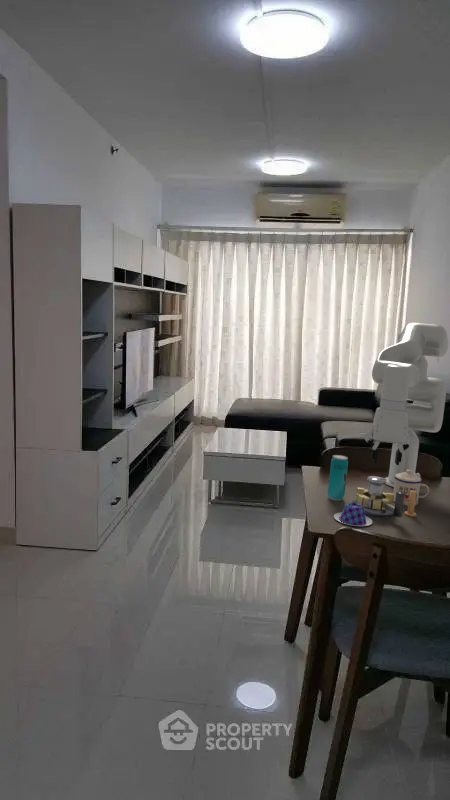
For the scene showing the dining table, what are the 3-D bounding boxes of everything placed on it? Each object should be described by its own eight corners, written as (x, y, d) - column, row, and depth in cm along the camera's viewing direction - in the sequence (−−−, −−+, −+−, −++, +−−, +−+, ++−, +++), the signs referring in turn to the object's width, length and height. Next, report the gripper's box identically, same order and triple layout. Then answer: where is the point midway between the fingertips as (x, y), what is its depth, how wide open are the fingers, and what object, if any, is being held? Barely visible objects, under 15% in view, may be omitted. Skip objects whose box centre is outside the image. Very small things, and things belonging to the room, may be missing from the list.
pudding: (343, 511, 200) (345, 496, 199) (378, 521, 194) (380, 505, 193) (327, 520, 191) (328, 504, 190) (363, 531, 184) (365, 515, 183)
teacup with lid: (392, 504, 211) (396, 471, 209) (390, 496, 220) (395, 465, 218) (428, 509, 209) (433, 476, 207) (425, 501, 218) (430, 469, 216)
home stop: (408, 512, 204) (411, 489, 203) (418, 515, 201) (421, 492, 200) (402, 513, 202) (405, 490, 200) (411, 517, 199) (414, 493, 198)
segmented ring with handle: (348, 498, 206) (351, 476, 204) (377, 496, 210) (379, 475, 209) (385, 518, 188) (388, 495, 187) (415, 516, 193) (418, 493, 192)
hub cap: (369, 500, 213) (373, 470, 211) (403, 513, 202) (407, 482, 200) (342, 506, 204) (346, 475, 202) (377, 520, 193) (381, 487, 192)
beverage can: (343, 502, 209) (348, 459, 206) (326, 500, 210) (331, 457, 207) (343, 497, 214) (348, 455, 212) (327, 495, 215) (332, 453, 213)
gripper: (419, 406, 188) (411, 462, 191) (362, 400, 190) (355, 457, 193) (424, 410, 181) (416, 469, 184) (365, 404, 182) (358, 463, 185)
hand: (385, 462), depth 188 cm, fingers open, 6 cm apart
